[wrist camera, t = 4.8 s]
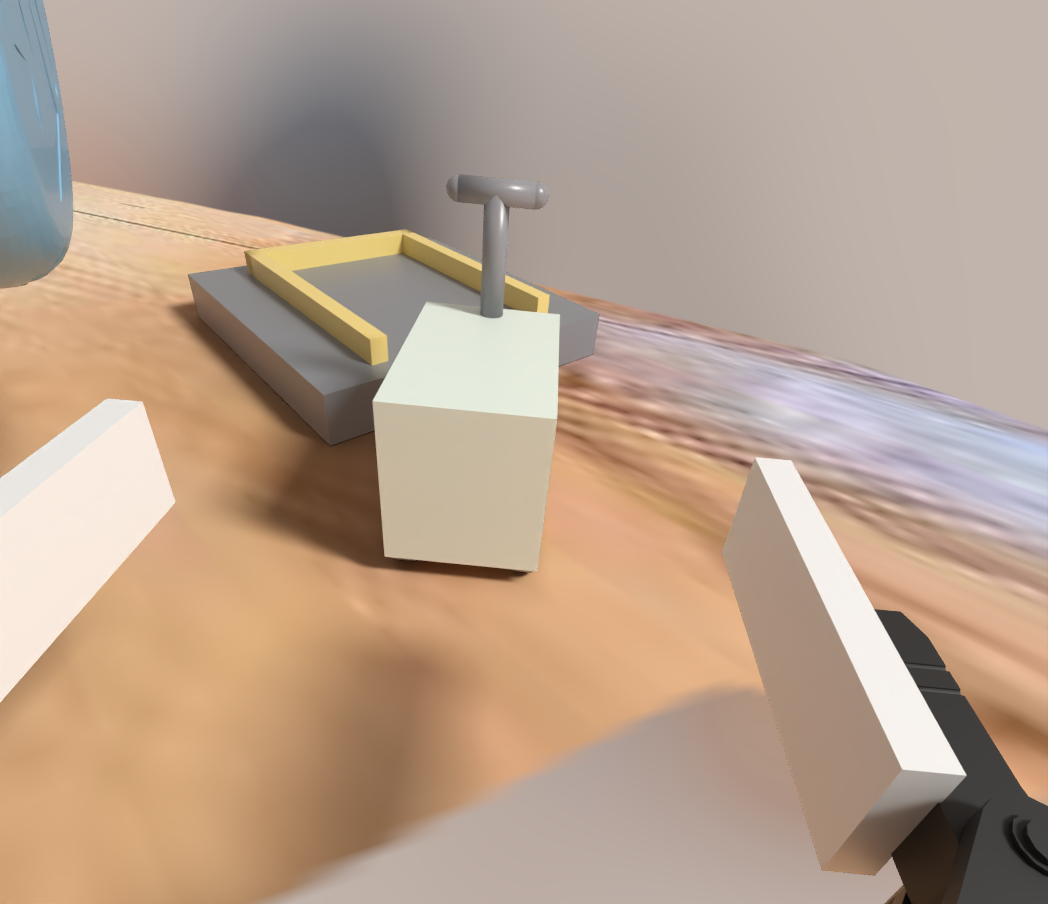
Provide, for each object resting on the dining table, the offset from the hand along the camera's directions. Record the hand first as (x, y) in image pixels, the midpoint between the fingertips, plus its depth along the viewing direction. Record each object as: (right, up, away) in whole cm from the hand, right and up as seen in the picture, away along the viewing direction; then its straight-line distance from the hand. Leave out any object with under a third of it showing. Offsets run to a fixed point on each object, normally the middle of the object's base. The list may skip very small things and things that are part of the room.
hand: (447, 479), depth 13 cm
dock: (-7, +9, +29) cm, 31 cm away
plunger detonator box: (-1, -2, +14) cm, 14 cm away
